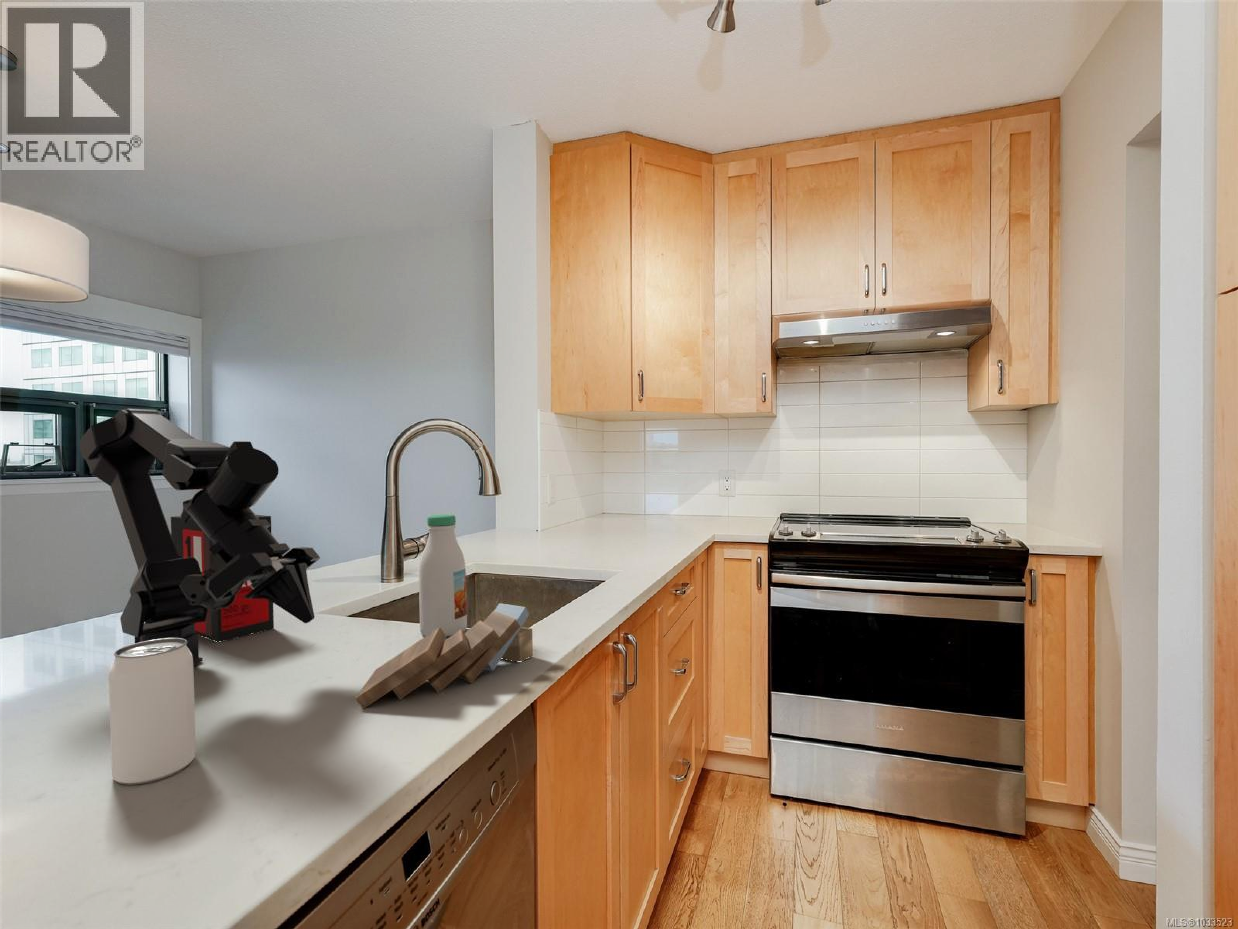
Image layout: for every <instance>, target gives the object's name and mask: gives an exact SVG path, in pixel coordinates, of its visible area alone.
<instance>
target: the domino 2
mask: <svg viewBox="0 0 1238 929" xmlns="http://www.w3.org/2000/svg"><path fill="white" fill-rule="evenodd" d="M464 632H465V631H464ZM464 632H463V631H462V630H459V631H458V632H456V633H455V634H453V635H452V636H448V638H445V640H444V643H443V645H442V647H441V649H440V651H439V654H438V656H437V658H436V660H435V661H434V662H432V663H431V664H429V665H428V666H426V667H425V668H424V669H422V670H421V671H419V672H418V673H416V674H415V675H413V676H412V677H410V678H409V679H407V680H406V681H404V682H403V683H401V684H400V685H398V686H397V687H395V688H394V689H392V691H393V693H394V694H395V696H396V697H397V698H398V699H399V701H400V700H402V699H403V698H404V697H406V696H407V695H409V694H411V693H412V692H414V690H416V689H418V687H420V686H421V685H423V684H425V683H426V682H428V679H430V678H431V677H433V676H434V675H435V674H437V673H438V672H440V671H441V670H442V669H444V668H445V667H447V666H448V665H449V664H451V663H452V662H454V661H455V660H456V659H458V658H459V657H461V656H462V655H463V654H465V653H466V652H468V651H469V650H470V649H469V643H468V638H467V637H466V635H465V633H464Z"/></svg>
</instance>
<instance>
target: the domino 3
mask: <svg viewBox="0 0 1238 929" xmlns="http://www.w3.org/2000/svg"><path fill="white" fill-rule="evenodd" d="M483 622H484V621H482V620H481V619H480V620H478V621H477V623H475V624H474V625H473V626H472V627H470V628H469V629H468V630H467V631H465V633H464V634H465V635H466V637H467V638H468V643H469V649H470V650H469V651H468V652H466V653H465V654H463V655H462V656H461V657H459V658H458V659H456V660H455V661H454V662H452V663H451V664H449V665H448V666H447V667H445V668H444V669H442V670H441V671H440V672H438V673H437V674H435V675H434V676H433V677H431V678H430V679H428V680H427V682H428V683H429V684H430V685H431V686H432V687H433V689H434V690H435V691H436V692H437V693H438V694H439V693H440V692H441V691H442V690H443V689H445V688H446V687H447V686H448V685H449V684H450V683H451V682H453V681H454V680H455V679H456V678H457V677H458V675H459V674H460V673H462V672H463V671H464V670H465V669H466V668H467V667H468V666H469V665H470V664H472V663H473V662H474V661H475V660H476V659H477V658H478V657H479V656H481V655H482V654H483V653H484V652H485V651H486V650H487V649H488V648H490V647H491V646H492V645H493V644H494V643H495V642H496V641H497V640H499V639H500V638H499V636H498V635H497V633H496V632H495V631H494V629H492V628H491V627H489V626H488V625H486V624H485V623H483Z"/></svg>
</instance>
